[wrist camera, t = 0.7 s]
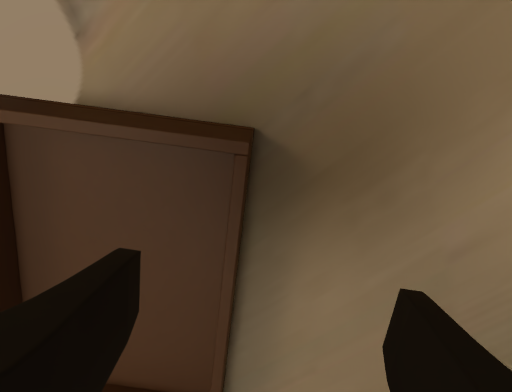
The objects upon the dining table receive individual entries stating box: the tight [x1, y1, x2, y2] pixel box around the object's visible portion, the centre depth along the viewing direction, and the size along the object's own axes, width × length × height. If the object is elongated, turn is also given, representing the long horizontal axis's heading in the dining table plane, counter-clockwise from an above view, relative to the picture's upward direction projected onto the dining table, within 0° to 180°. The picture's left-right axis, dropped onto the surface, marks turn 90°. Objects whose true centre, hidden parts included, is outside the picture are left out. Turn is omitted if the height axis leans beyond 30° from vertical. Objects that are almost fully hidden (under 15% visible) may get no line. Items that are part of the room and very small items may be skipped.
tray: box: [0, 94, 254, 392], centre depth 23 cm, size 17×12×2 cm
